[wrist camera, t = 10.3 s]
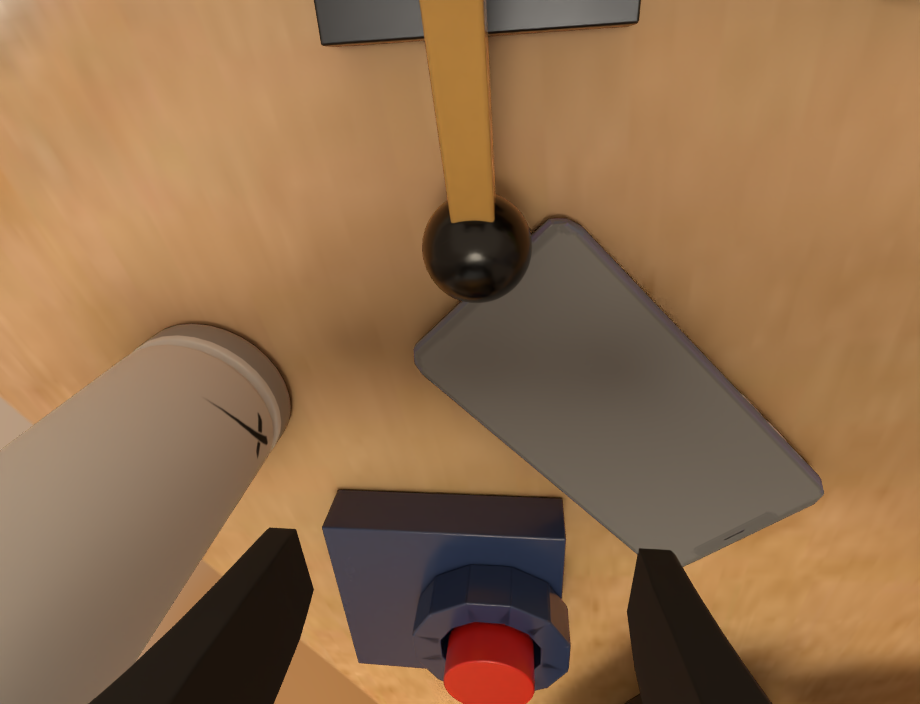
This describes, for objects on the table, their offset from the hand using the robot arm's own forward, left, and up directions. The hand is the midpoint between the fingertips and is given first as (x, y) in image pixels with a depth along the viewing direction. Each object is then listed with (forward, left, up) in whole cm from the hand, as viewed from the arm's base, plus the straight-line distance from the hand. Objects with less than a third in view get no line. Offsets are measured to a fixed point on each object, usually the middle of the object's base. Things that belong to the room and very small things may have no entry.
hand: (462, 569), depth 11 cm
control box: (+2, +12, -9) cm, 15 cm away
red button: (0, +12, -5) cm, 13 cm away
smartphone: (-5, +2, -9) cm, 11 cm away
